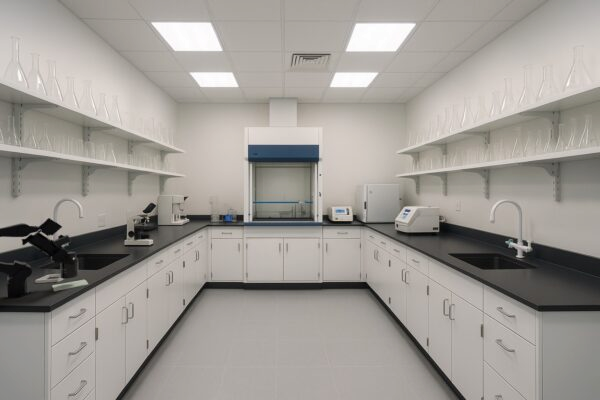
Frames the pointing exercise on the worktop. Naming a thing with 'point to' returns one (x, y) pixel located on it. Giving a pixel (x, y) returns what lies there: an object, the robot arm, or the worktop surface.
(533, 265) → the worktop surface
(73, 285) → the mat
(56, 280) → the white square frame
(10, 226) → the robot arm
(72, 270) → the supplement bottle
